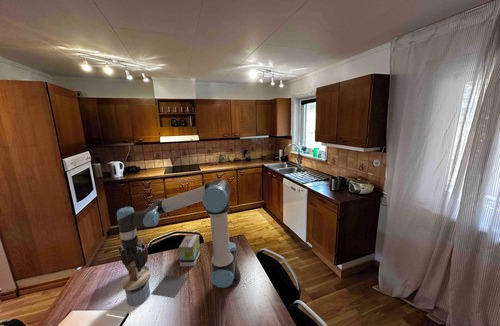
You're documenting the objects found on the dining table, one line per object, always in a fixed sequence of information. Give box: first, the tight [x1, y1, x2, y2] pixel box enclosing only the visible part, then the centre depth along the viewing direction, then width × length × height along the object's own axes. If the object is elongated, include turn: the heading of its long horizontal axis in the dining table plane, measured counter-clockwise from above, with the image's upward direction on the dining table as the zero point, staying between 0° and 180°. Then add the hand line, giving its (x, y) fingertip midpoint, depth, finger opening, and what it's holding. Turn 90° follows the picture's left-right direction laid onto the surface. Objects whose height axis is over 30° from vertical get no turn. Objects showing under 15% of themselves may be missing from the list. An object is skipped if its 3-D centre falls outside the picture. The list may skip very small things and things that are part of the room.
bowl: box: [124, 280, 151, 307], centre depth 112 cm, size 11×11×8 cm
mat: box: [150, 274, 189, 299], centre depth 120 cm, size 15×15×1 cm
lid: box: [120, 261, 151, 291], centre depth 110 cm, size 14×14×10 cm
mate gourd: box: [124, 237, 150, 275], centre depth 131 cm, size 16×14×20 cm
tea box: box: [178, 234, 201, 267], centre depth 142 cm, size 15×10×15 cm, turn 179°
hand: (135, 275), depth 110 cm, fingers closed on lid, 4 cm apart
